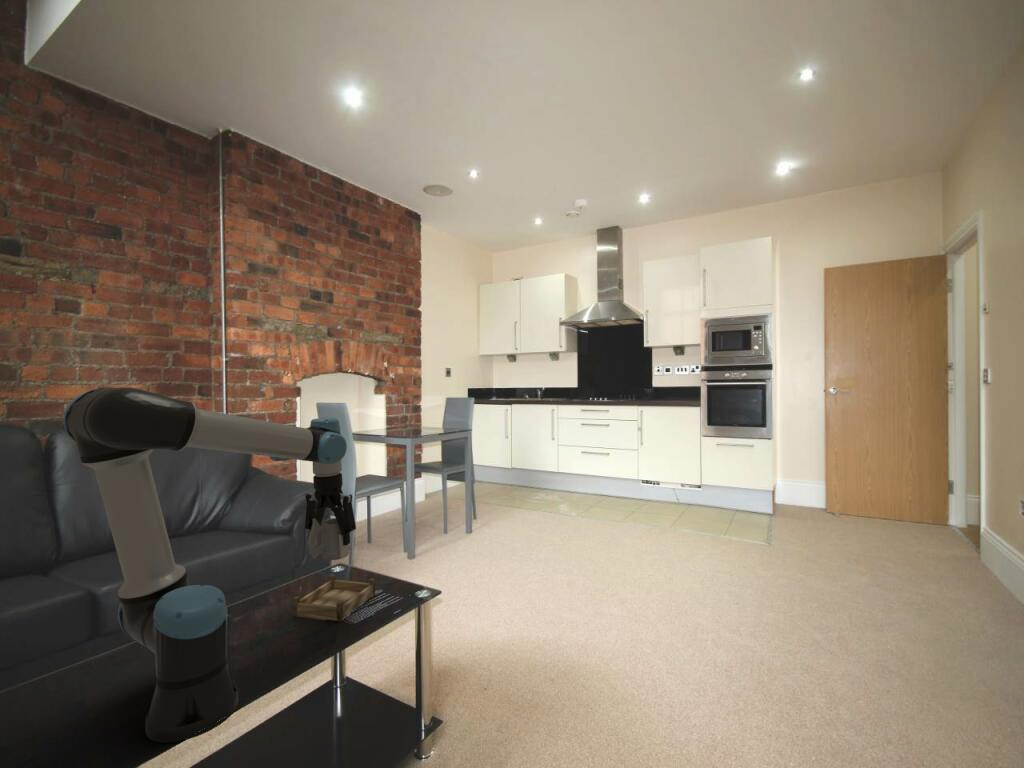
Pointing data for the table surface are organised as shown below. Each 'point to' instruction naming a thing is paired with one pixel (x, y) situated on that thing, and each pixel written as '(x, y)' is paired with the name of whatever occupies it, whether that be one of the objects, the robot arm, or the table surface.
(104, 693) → the table surface
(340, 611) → the wooden tray
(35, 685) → the table surface
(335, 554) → the mug
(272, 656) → the table surface
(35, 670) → the table surface
